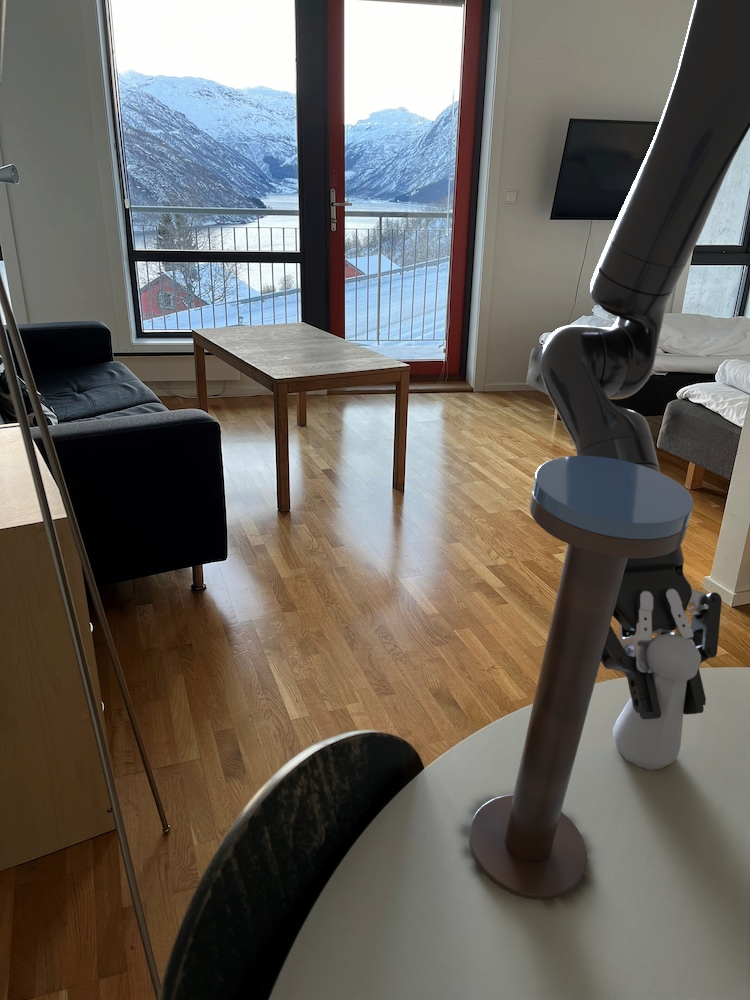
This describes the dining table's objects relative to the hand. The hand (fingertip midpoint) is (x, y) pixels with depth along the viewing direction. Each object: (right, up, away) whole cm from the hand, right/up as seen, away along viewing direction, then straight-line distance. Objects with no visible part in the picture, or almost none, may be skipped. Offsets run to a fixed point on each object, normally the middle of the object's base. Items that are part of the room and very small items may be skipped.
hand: (672, 715), depth 63 cm
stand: (-14, -9, -5) cm, 17 cm away
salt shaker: (-1, -6, +5) cm, 7 cm away
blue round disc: (-12, +18, -19) cm, 29 cm away
